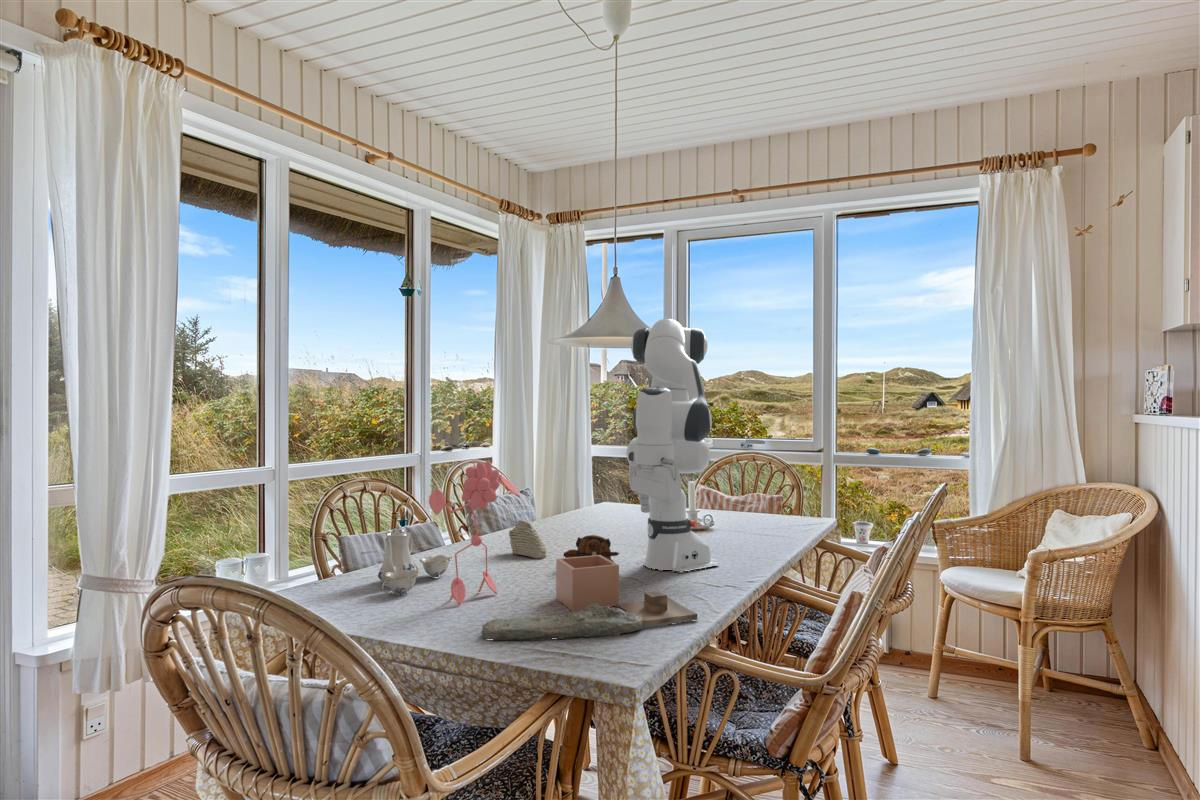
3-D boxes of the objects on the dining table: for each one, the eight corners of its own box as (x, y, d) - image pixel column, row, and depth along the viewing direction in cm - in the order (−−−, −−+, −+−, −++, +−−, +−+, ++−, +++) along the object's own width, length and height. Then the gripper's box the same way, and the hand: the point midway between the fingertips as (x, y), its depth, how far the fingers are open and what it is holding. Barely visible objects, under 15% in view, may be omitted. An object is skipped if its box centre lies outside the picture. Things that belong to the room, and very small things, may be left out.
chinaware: (411, 607, 177) (418, 541, 177) (350, 596, 180) (357, 531, 180) (455, 578, 205) (461, 521, 204) (402, 569, 208) (407, 513, 207)
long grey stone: (481, 636, 155) (482, 655, 146) (480, 612, 155) (480, 630, 145) (637, 619, 161) (648, 636, 151) (636, 596, 161) (647, 612, 151)
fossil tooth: (537, 564, 220) (503, 553, 229) (550, 559, 225) (516, 548, 234) (539, 528, 219) (504, 518, 228) (552, 524, 224) (517, 514, 233)
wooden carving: (563, 572, 206) (563, 537, 206) (563, 568, 210) (563, 534, 210) (619, 571, 206) (620, 537, 206) (618, 567, 211) (619, 534, 211)
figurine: (419, 607, 171) (422, 462, 170) (500, 585, 190) (503, 455, 190) (459, 622, 161) (462, 468, 160) (540, 597, 180) (543, 460, 180)
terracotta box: (600, 593, 183) (600, 554, 183) (618, 606, 172) (619, 565, 172) (556, 598, 179) (556, 558, 179) (572, 611, 168) (572, 569, 168)
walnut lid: (668, 601, 174) (668, 583, 174) (697, 618, 161) (697, 598, 161) (616, 608, 169) (616, 589, 169) (641, 625, 156) (641, 605, 156)
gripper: (688, 459, 157) (688, 522, 157) (647, 452, 176) (647, 508, 176) (663, 461, 155) (663, 524, 155) (624, 453, 173) (624, 509, 174)
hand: (654, 515), depth 166 cm, fingers open, 8 cm apart
